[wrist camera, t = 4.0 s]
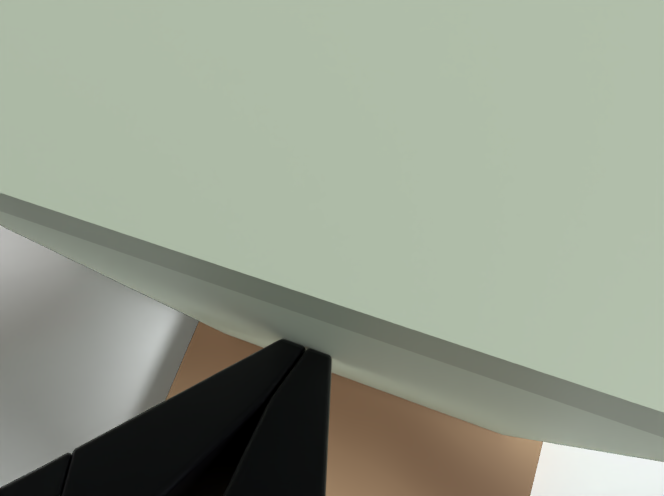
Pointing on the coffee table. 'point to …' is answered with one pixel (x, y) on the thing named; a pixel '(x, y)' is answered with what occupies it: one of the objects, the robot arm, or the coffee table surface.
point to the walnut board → (388, 436)
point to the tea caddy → (369, 188)
